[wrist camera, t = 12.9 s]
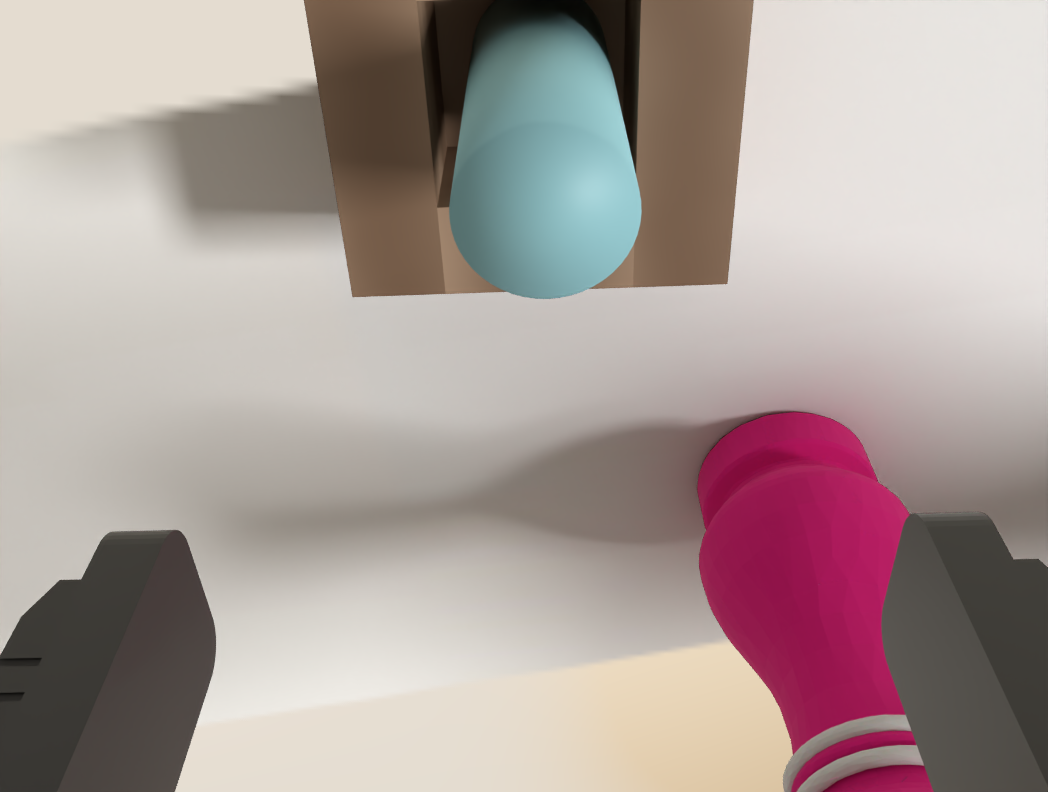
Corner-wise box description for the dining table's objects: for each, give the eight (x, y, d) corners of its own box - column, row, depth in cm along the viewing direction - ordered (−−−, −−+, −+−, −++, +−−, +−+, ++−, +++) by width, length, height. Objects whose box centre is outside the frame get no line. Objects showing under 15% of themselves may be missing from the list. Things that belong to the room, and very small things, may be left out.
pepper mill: (855, 548, 39) (1089, 1167, 23) (672, 544, 39) (777, 1162, 23) (902, 401, 35) (1231, 1032, 19) (697, 395, 35) (849, 1026, 18)
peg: (606, -20, 26) (644, 117, 17) (605, 116, 28) (638, 295, 20) (467, -15, 26) (440, 126, 18) (476, 121, 28) (456, 301, 20)
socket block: (726, -171, 24) (766, -141, 20) (700, 203, 30) (727, 284, 26) (323, -153, 25) (284, -119, 21) (375, 214, 31) (352, 297, 26)
